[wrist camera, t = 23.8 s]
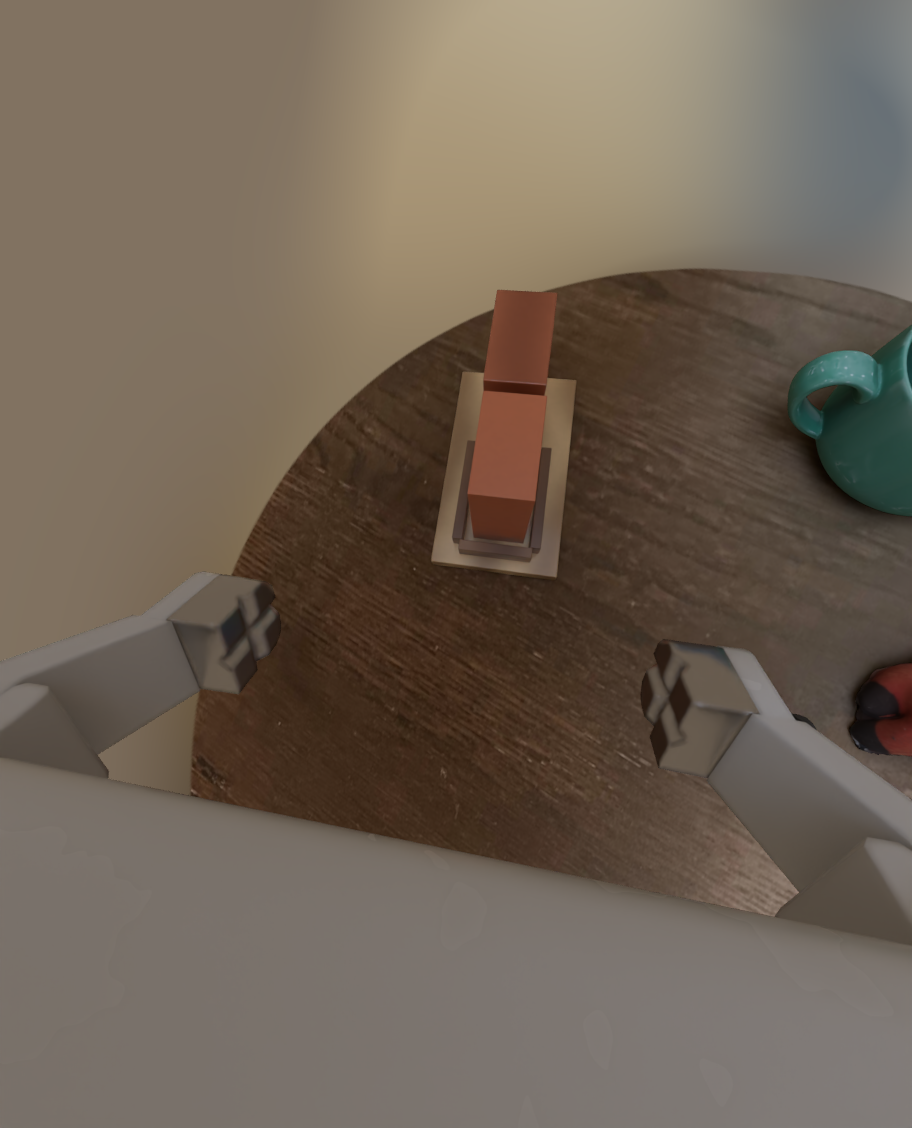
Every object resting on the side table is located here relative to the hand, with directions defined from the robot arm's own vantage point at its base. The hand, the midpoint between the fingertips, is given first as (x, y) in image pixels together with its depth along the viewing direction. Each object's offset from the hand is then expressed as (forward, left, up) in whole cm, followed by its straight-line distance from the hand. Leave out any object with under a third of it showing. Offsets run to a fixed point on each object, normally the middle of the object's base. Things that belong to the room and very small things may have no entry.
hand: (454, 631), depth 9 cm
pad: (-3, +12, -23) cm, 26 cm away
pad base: (-4, +15, -24) cm, 29 cm away
